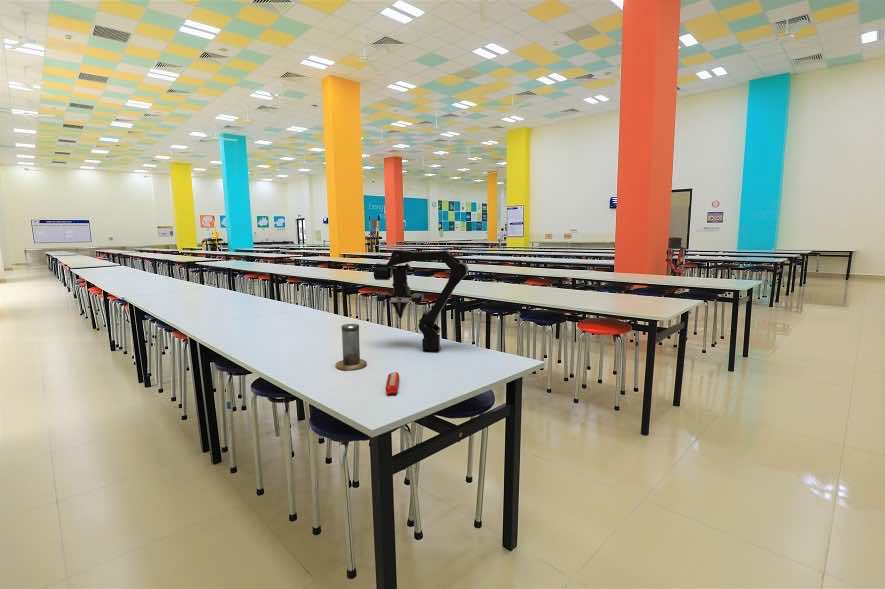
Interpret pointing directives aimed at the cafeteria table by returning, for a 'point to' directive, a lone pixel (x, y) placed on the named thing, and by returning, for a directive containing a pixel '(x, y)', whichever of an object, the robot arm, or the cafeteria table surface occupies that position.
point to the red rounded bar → (392, 383)
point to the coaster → (350, 368)
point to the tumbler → (350, 344)
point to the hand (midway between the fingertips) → (400, 318)
